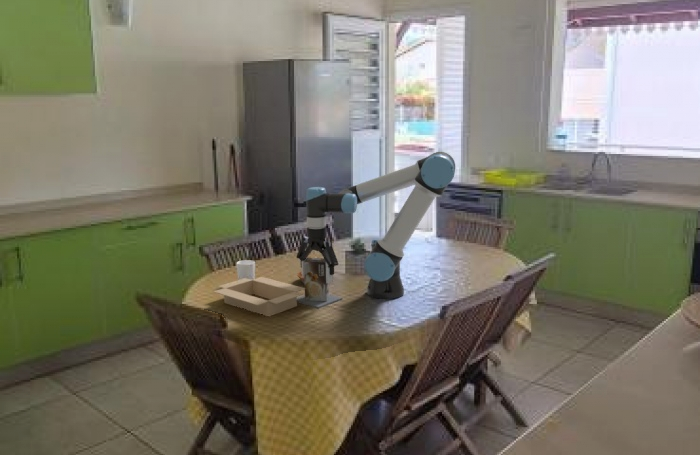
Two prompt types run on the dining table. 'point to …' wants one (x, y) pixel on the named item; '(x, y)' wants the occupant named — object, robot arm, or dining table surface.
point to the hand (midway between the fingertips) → (317, 279)
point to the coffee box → (316, 279)
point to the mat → (318, 303)
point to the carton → (277, 291)
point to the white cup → (246, 269)
